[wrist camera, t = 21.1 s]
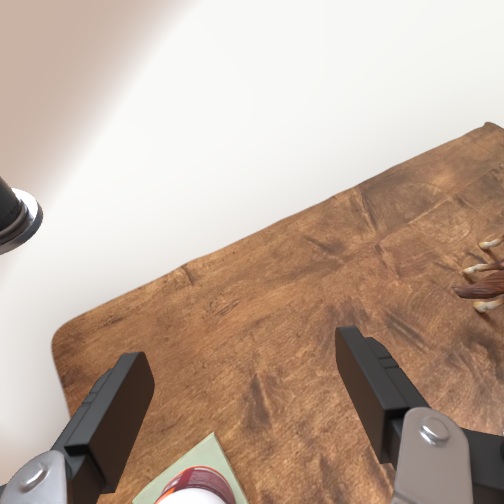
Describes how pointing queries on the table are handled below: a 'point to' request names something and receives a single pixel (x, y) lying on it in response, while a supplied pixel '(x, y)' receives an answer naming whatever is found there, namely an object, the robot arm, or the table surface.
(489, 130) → the table surface
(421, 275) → the table surface
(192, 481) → the pill bottle
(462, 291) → the horse figurine
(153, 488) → the block
